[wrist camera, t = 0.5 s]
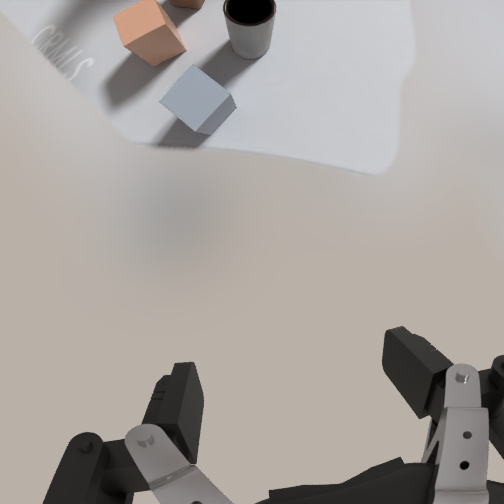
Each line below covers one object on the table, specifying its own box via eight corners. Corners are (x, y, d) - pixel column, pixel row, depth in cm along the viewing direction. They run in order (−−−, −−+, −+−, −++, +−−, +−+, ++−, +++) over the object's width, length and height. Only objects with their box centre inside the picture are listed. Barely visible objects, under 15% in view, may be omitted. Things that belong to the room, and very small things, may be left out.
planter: (276, 51, 27) (285, 16, 17) (241, 65, 28) (236, 33, 18) (259, 23, 25) (261, -18, 16) (225, 36, 26) (214, -1, 16)
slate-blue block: (182, 112, 30) (158, 101, 21) (208, 84, 28) (193, 64, 20) (210, 135, 31) (195, 131, 22) (236, 107, 30) (230, 93, 21)
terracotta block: (142, 41, 26) (112, 17, 17) (174, 25, 25) (152, -5, 17) (153, 66, 27) (123, 46, 19) (186, 50, 27) (165, 23, 18)
